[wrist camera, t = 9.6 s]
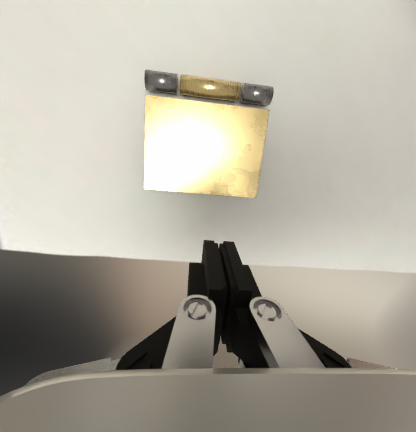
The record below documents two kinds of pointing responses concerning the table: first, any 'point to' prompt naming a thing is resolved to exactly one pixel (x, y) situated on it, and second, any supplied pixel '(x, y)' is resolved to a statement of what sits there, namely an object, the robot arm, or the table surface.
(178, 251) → the table surface
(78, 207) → the table surface
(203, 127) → the brass leaf
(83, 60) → the table surface
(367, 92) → the table surface
